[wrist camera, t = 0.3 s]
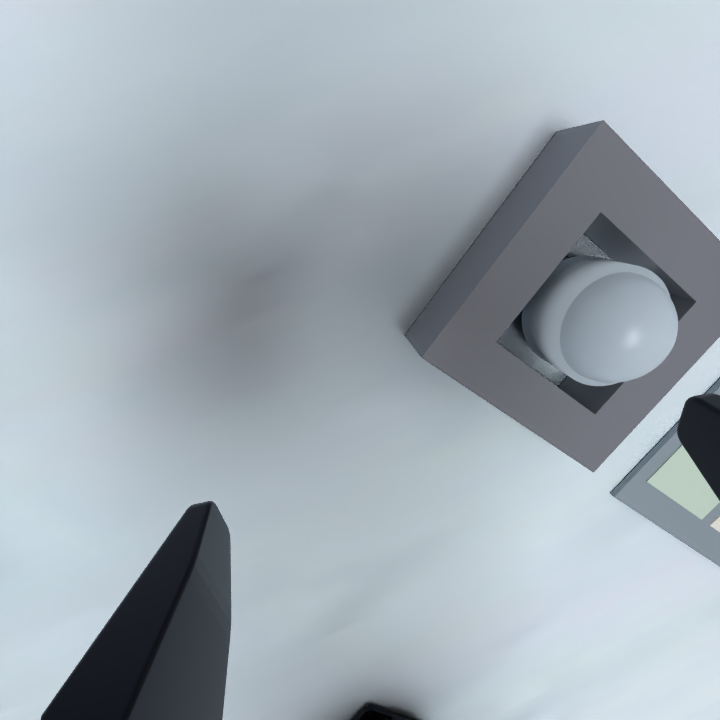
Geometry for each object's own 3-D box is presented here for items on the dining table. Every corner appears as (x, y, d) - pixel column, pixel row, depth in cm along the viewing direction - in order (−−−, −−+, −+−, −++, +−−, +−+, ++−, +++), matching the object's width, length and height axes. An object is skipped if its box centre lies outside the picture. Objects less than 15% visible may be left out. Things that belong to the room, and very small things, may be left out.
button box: (558, 439, 28) (593, 472, 24) (404, 335, 24) (421, 357, 21) (704, 275, 25) (765, 287, 22) (556, 131, 21) (603, 120, 18)
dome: (574, 382, 24) (644, 430, 19) (499, 327, 23) (555, 364, 18) (647, 297, 23) (742, 324, 18) (575, 232, 22) (658, 243, 17)
